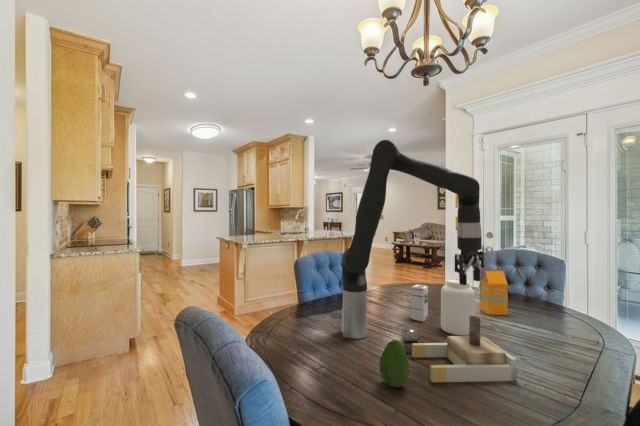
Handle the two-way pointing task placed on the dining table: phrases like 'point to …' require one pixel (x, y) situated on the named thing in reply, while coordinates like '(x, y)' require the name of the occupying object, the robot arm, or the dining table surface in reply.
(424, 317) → the syrup box
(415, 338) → the drum
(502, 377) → the frame
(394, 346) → the avocado
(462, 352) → the box with grey peg
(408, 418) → the dining table surface
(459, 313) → the white plastic bottle
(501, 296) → the orange juice
